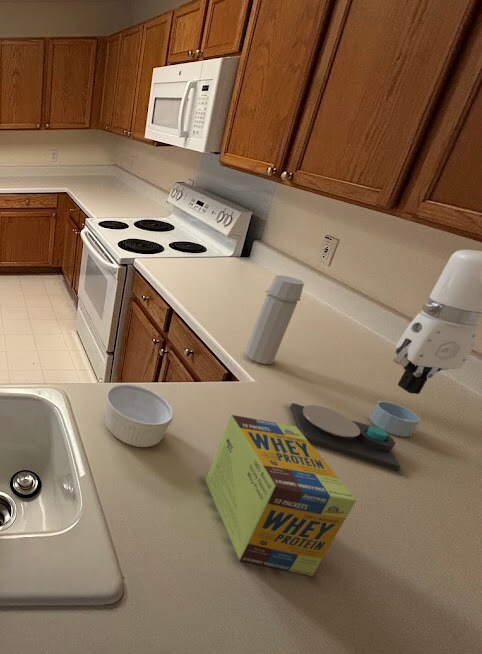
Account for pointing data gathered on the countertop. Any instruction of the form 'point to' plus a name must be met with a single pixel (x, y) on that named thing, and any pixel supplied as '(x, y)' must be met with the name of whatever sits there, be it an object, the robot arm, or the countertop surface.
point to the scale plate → (331, 421)
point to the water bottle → (274, 319)
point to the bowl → (394, 418)
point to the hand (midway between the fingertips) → (407, 389)
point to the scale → (348, 441)
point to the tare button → (377, 433)
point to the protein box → (276, 495)
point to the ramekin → (137, 415)
